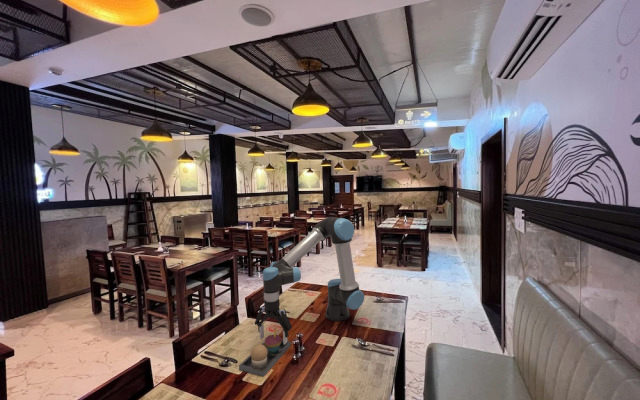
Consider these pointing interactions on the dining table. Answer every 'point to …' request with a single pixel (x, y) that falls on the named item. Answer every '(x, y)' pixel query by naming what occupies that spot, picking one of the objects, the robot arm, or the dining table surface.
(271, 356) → the dark grey tray
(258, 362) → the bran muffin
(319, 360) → the dining table surface
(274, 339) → the cupcake
